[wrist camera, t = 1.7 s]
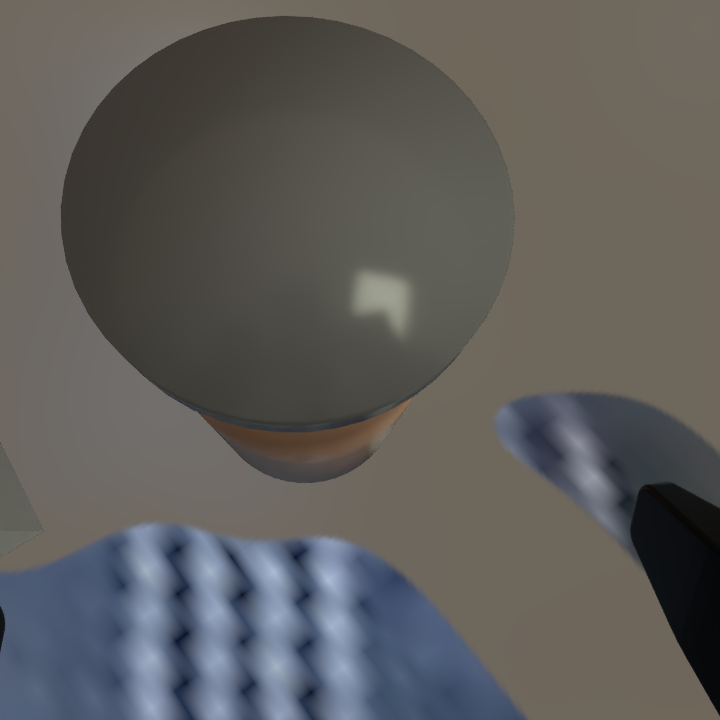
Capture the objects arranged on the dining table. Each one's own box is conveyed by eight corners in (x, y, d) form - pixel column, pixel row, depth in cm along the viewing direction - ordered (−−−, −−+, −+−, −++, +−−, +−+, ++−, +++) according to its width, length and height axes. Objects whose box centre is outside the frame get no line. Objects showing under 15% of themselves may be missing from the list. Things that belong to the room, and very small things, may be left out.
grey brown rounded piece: (351, 524, 20) (403, 506, 8) (171, 434, 20) (-36, 289, 8) (434, 349, 22) (576, 121, 10) (266, 269, 22) (207, -44, 10)
